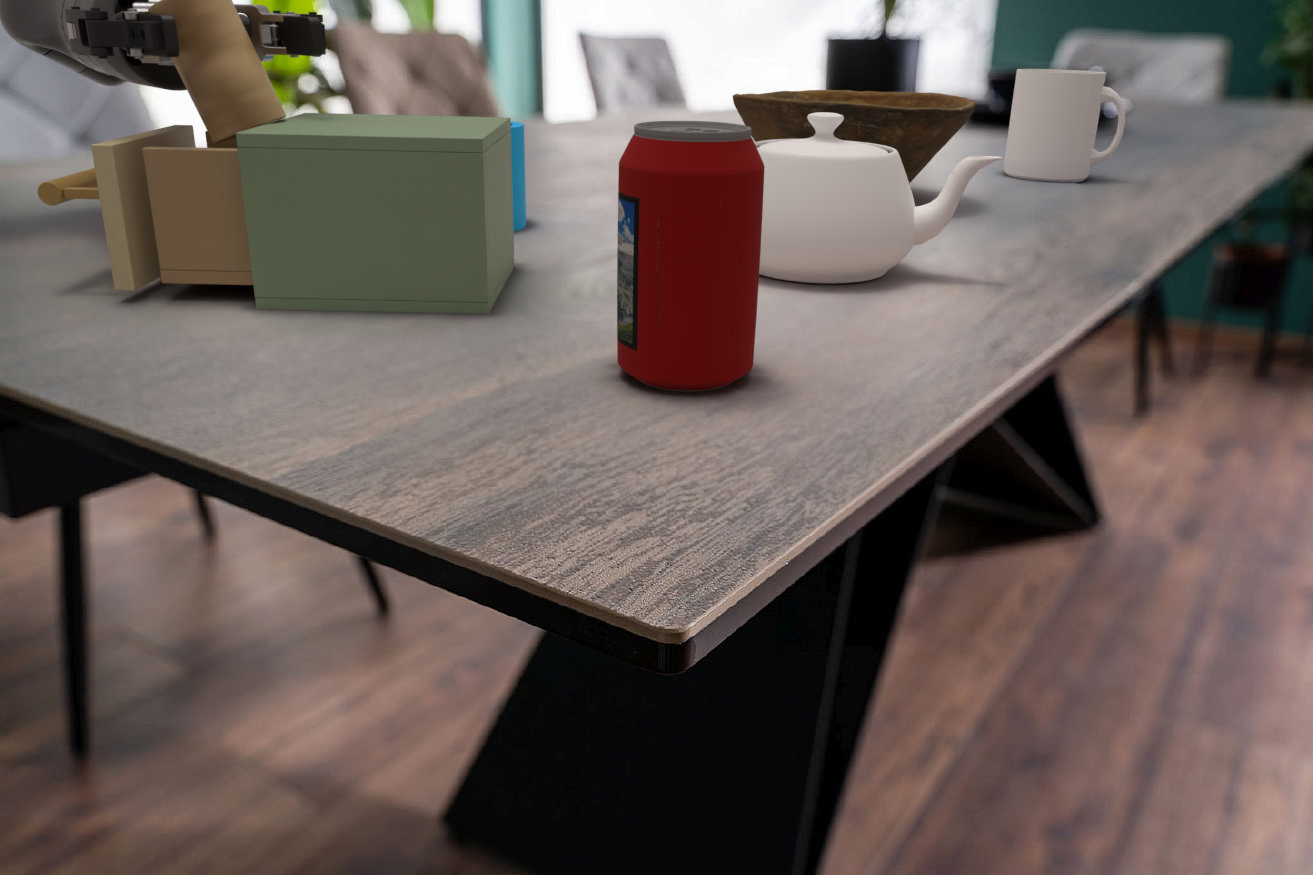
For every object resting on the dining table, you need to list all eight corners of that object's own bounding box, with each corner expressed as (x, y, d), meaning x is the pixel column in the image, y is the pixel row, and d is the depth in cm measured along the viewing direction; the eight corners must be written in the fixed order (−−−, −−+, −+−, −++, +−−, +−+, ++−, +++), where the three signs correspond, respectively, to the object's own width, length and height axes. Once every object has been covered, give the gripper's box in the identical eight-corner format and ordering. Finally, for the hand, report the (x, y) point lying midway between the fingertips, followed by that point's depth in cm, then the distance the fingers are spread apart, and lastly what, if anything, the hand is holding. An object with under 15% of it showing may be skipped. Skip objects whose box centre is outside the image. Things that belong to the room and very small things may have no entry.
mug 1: (541, 232, 87) (539, 127, 84) (442, 239, 84) (437, 130, 81) (492, 208, 97) (489, 114, 94) (402, 213, 94) (396, 116, 91)
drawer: (33, 288, 63) (5, 142, 60) (122, 248, 74) (102, 123, 71) (328, 295, 63) (315, 149, 60) (375, 254, 74) (365, 129, 71)
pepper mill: (202, 147, 64) (124, -7, 61) (230, 140, 68) (159, -5, 65) (272, 120, 63) (197, -38, 60) (296, 113, 67) (227, -34, 64)
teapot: (649, 280, 72) (652, 113, 68) (693, 242, 85) (698, 99, 81) (988, 308, 68) (1013, 130, 64) (982, 263, 80) (1003, 112, 76)
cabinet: (256, 311, 63) (235, 132, 59) (318, 264, 75) (304, 112, 71) (488, 316, 63) (482, 138, 59) (514, 268, 75) (510, 117, 71)
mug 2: (994, 170, 129) (1008, 68, 125) (1097, 174, 128) (1114, 71, 124) (1012, 182, 121) (1027, 72, 116) (1122, 186, 120) (1142, 75, 115)
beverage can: (653, 350, 58) (658, 116, 53) (772, 369, 55) (788, 125, 50) (591, 385, 52) (591, 127, 47) (721, 409, 49) (733, 137, 45)
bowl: (867, 180, 120) (876, 85, 116) (1010, 214, 100) (1026, 102, 97) (690, 188, 111) (694, 86, 107) (809, 227, 92) (818, 105, 88)
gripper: (22, -37, 67) (105, -41, 56) (246, -28, 76) (356, -29, 65) (44, 89, 70) (128, 109, 59) (258, 84, 79) (365, 100, 68)
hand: (247, 36), depth 62 cm, fingers open, 8 cm apart
